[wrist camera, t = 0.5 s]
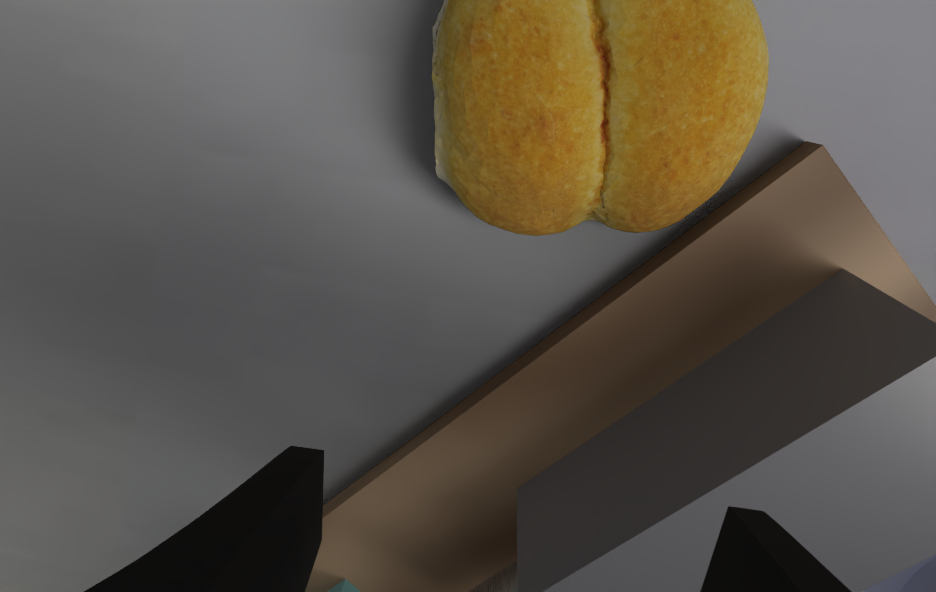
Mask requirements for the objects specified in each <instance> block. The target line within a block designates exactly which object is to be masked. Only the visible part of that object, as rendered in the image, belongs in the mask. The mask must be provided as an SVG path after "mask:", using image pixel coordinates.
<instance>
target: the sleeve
mask: <svg viewBox="0 0 936 592" xmlns="http://www.w3.org/2000/svg"><path fill="white" fill-rule="evenodd" d="M728 506H731V507H738V508H746V509H753V510H760V511H764V512H765V513H767V514H768V515H769V516H770V517H771V518H772V519H774V520H775V521H776V522H777V523H778V524H779V525H780V526H782V527H783V528H784V529H785V530H786V531H787V532H788V533H789V534H790V535H791V536H793V537H794V538H795V539H796V540H797V541H798V542H799V543H800V544H801V545H802V546H803V547H804V548H805V549H806V550H808V551H809V552H810V553H811V554H812V555H813V556H814V557H815V558H816V559H817V560H818V561H819V562H820V563H821V564H823V565H824V566H825V567H826V568H827V569H828V570H829V571H830V572H831V573H832V574H833V575H834V576H835V577H836V578H838V579H839V580H840V581H841V582H842V583H843V584H844V585H845V586H846V587H847V588H848V589H849V590H850V591H852V592H861V591H863V590H865V589H867V588H869V587H871V586H873V585H875V584H877V583H879V582H881V581H883V580H885V579H887V578H889V577H891V576H893V575H895V574H897V573H899V572H901V571H903V570H905V569H907V568H909V567H911V566H913V565H915V564H917V563H919V562H921V561H923V560H925V559H927V558H929V557H931V556H933V555H935V554H936V323H935V322H933V321H931V320H930V319H928V318H926V317H925V316H923V315H921V314H920V313H918V312H916V311H915V310H913V309H911V308H909V307H908V306H906V305H904V304H903V303H901V302H899V301H898V300H896V299H894V298H893V297H891V296H889V295H887V294H886V293H884V292H882V291H881V290H879V289H877V288H876V287H874V286H872V285H871V284H869V283H867V282H865V281H864V280H862V279H860V278H859V277H857V276H855V275H854V274H852V273H850V272H849V271H847V270H845V269H842V270H841V271H839V272H838V273H836V274H835V275H833V276H832V277H830V278H829V279H827V280H826V281H824V282H823V283H821V284H820V285H818V286H817V287H815V288H814V289H812V290H811V291H809V292H808V293H806V294H805V295H803V296H802V297H800V298H799V299H797V300H796V301H794V302H793V303H792V304H790V305H789V306H787V307H786V308H784V309H783V310H781V311H780V312H778V313H777V314H775V315H774V316H772V317H771V318H769V319H768V320H766V321H765V322H763V323H762V324H760V325H759V326H757V327H756V328H754V329H753V330H751V331H750V332H748V333H747V334H745V335H744V336H742V337H741V338H740V339H738V340H737V341H735V342H734V343H732V344H731V345H729V346H728V347H726V348H725V349H723V350H722V351H720V352H719V353H717V354H716V355H714V356H713V357H711V358H710V359H708V360H707V361H705V362H704V363H702V364H701V365H699V366H698V367H696V368H695V369H693V370H692V371H690V372H689V373H687V374H686V375H685V376H683V377H682V378H680V379H679V380H677V381H676V382H674V383H673V384H671V385H670V386H668V387H667V388H665V389H664V390H662V391H661V392H659V393H658V394H656V395H655V396H653V397H652V398H650V399H649V400H647V401H646V402H644V403H643V404H641V405H640V406H638V407H637V408H635V409H634V410H633V411H631V412H630V413H628V414H627V415H625V416H624V417H622V418H621V419H619V420H618V421H616V422H615V423H613V424H612V425H610V426H609V427H607V428H606V429H604V430H603V431H601V432H600V433H598V434H597V435H595V436H594V437H592V438H591V439H589V440H588V441H586V442H585V443H583V444H582V445H580V446H579V447H578V448H576V449H575V450H573V451H572V452H570V453H569V454H567V455H566V456H564V457H563V458H561V459H560V460H558V461H557V462H555V463H554V464H552V465H551V466H549V467H548V468H546V469H545V470H543V471H542V472H540V473H539V474H537V475H536V476H534V477H533V478H531V479H530V480H528V481H527V482H526V483H524V484H523V485H521V486H520V487H518V488H517V583H518V592H700V591H701V588H702V585H703V582H704V579H705V576H706V573H707V570H708V567H709V564H710V561H711V557H712V554H713V551H714V548H715V545H716V542H717V539H718V536H719V533H720V530H721V527H722V524H723V521H724V518H725V514H726V511H727V508H728Z"/></svg>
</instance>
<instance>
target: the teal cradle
mask: <svg viewBox="0 0 936 592" xmlns="http://www.w3.org/2000/svg"><path fill="white" fill-rule="evenodd" d="M327 592H361V591H359V590H358V589H357V588H356V587H355V586H353V585H352V584H351V583H350V582H349V581H348V580H346V579H344V580H343V581H342V582H340V583H339V584H337V585H336V586H334V587H333V588H331V589H330V590H329V591H327Z"/></svg>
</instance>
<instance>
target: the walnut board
mask: <svg viewBox="0 0 936 592" xmlns="http://www.w3.org/2000/svg"><path fill="white" fill-rule="evenodd" d="M842 269H845V270H847V271H849V272H850V273H852V274H854V275H855V276H857V277H859V278H860V279H862V280H864V281H865V282H867V283H869V284H871V285H872V286H874V287H876V288H877V289H879V290H881V291H882V292H884V293H886V294H887V295H889V296H891V297H893V298H894V299H896V300H898V301H899V302H901V303H903V304H904V305H906V306H908V307H909V308H911V309H913V310H915V311H916V312H918V313H920V314H921V315H923V316H925V317H926V318H928V319H930V320H931V321H933V322H935V323H936V306H935V304H934V303H933V301H932V300H931V299H930V297H929V296H928V294H927V293H926V291H925V290H924V289H923V287H922V286H921V284H920V283H919V281H918V280H917V279H916V277H915V276H914V274H913V273H912V271H911V270H910V269H909V267H908V266H907V264H906V263H905V261H904V260H903V259H902V257H901V256H900V254H899V253H898V251H897V250H896V249H895V247H894V246H893V244H892V243H891V241H890V240H889V239H888V237H887V236H886V234H885V233H884V231H883V230H882V229H881V227H880V226H879V224H878V223H877V221H876V220H875V219H874V217H873V216H872V214H871V213H870V212H869V210H868V209H867V207H866V206H865V204H864V203H863V202H862V200H861V199H860V197H859V196H858V194H857V193H856V192H855V190H854V189H853V187H852V186H851V184H850V183H849V182H848V180H847V179H846V177H845V176H844V174H843V173H842V172H841V170H840V169H839V167H838V166H837V164H836V163H835V162H834V160H833V159H832V157H831V156H830V154H829V153H828V152H827V150H826V149H825V147H824V146H823V145H820V144H816V143H812V142H807V141H806V142H805V143H803V144H802V145H801V146H799V147H798V148H797V149H795V150H794V151H793V152H791V153H790V154H789V155H787V156H786V157H785V158H783V159H782V160H781V161H779V162H778V163H777V164H775V165H774V166H773V167H771V168H770V169H769V170H767V171H766V172H765V173H763V174H762V175H761V176H760V177H758V178H757V179H756V180H754V181H753V182H752V183H750V184H749V185H748V186H746V187H745V188H744V189H742V190H741V191H740V192H738V193H737V194H736V195H734V196H733V197H732V198H730V199H729V200H728V201H726V202H725V203H724V204H722V205H721V206H720V207H718V208H717V209H716V210H714V211H713V212H712V213H710V214H709V215H708V216H706V217H705V218H704V219H703V220H701V221H700V222H699V223H697V224H696V225H695V226H693V227H692V228H691V229H689V230H688V231H687V232H685V233H684V234H683V235H681V236H680V237H679V238H677V239H676V240H675V241H673V242H672V243H671V244H669V245H668V246H667V247H665V248H664V249H663V250H661V251H660V252H659V253H657V254H656V255H655V256H653V257H652V258H651V259H649V260H648V261H647V262H646V263H644V264H643V265H642V266H640V267H639V268H638V269H636V270H635V271H634V272H632V273H631V274H630V275H628V276H627V277H626V278H624V279H623V280H622V281H620V282H619V283H618V284H616V285H615V286H614V287H612V288H611V289H610V290H608V291H607V292H606V293H604V294H603V295H602V296H600V297H599V298H598V299H596V300H595V301H594V302H592V303H591V304H590V305H589V306H587V307H586V308H585V309H583V310H582V311H581V312H579V313H578V314H577V315H575V316H574V317H573V318H571V319H570V320H569V321H567V322H566V323H565V324H563V325H562V326H561V327H559V328H558V329H557V330H555V331H554V332H553V333H551V334H550V335H549V336H547V337H546V338H545V339H543V340H542V341H541V342H539V343H538V344H537V345H535V346H534V347H533V348H532V349H530V350H529V351H528V352H526V353H525V354H524V355H522V356H521V357H520V358H518V359H517V360H516V361H514V362H513V363H512V364H510V365H509V366H508V367H506V368H505V369H504V370H502V371H501V372H500V373H498V374H497V375H496V376H494V377H493V378H492V379H490V380H489V381H488V382H486V383H485V384H484V385H482V386H481V387H480V388H478V389H477V390H476V391H475V392H473V393H472V394H471V395H469V396H468V397H467V398H465V399H464V400H463V401H461V402H460V403H459V404H457V405H456V406H455V407H453V408H452V409H451V410H449V411H448V412H447V413H445V414H444V415H443V416H441V417H440V418H439V419H437V420H436V421H435V422H433V423H432V424H431V425H429V426H428V427H427V428H425V429H424V430H423V431H421V432H420V433H419V434H418V435H416V436H415V437H414V438H412V439H411V440H410V441H408V442H407V443H406V444H404V445H403V446H402V447H400V448H399V449H398V450H396V451H395V452H394V453H392V454H391V455H390V456H388V457H387V458H386V459H384V460H383V461H382V462H380V463H379V464H378V465H376V466H375V467H374V468H372V469H371V470H370V471H368V472H367V473H366V474H364V475H363V476H362V477H361V478H359V479H358V480H357V481H355V482H354V483H353V484H351V485H350V486H349V487H347V488H346V489H345V490H343V491H342V492H341V493H339V494H338V495H337V496H335V497H334V498H333V499H331V500H330V501H329V502H327V503H326V504H325V505H323V515H322V541H321V545H320V548H319V551H318V554H317V557H316V560H315V563H314V566H313V569H312V572H311V575H310V578H309V581H308V584H307V587H306V590H305V592H327V591H329V590H330V589H331V588H333V587H334V586H336V585H337V584H339V583H340V582H342V581H343V580H344V579H346V580H348V581H349V582H350V583H351V584H352V585H353V586H355V587H356V588H357V589H358V590H359V591H361V592H467V591H469V590H470V589H472V588H474V587H475V586H477V585H478V584H480V583H482V582H483V581H485V580H486V579H488V578H490V577H491V576H493V575H494V574H496V573H498V572H499V571H501V570H502V569H504V568H506V567H507V566H509V565H510V564H512V563H513V562H515V561H517V488H518V487H520V486H521V485H523V484H524V483H526V482H527V481H528V480H530V479H531V478H533V477H534V476H536V475H537V474H539V473H540V472H542V471H543V470H545V469H546V468H548V467H549V466H551V465H552V464H554V463H555V462H557V461H558V460H560V459H561V458H563V457H564V456H566V455H567V454H569V453H570V452H572V451H573V450H575V449H576V448H578V447H579V446H580V445H582V444H583V443H585V442H586V441H588V440H589V439H591V438H592V437H594V436H595V435H597V434H598V433H600V432H601V431H603V430H604V429H606V428H607V427H609V426H610V425H612V424H613V423H615V422H616V421H618V420H619V419H621V418H622V417H624V416H625V415H627V414H628V413H630V412H631V411H633V410H634V409H635V408H637V407H638V406H640V405H641V404H643V403H644V402H646V401H647V400H649V399H650V398H652V397H653V396H655V395H656V394H658V393H659V392H661V391H662V390H664V389H665V388H667V387H668V386H670V385H671V384H673V383H674V382H676V381H677V380H679V379H680V378H682V377H683V376H685V375H686V374H687V373H689V372H690V371H692V370H693V369H695V368H696V367H698V366H699V365H701V364H702V363H704V362H705V361H707V360H708V359H710V358H711V357H713V356H714V355H716V354H717V353H719V352H720V351H722V350H723V349H725V348H726V347H728V346H729V345H731V344H732V343H734V342H735V341H737V340H738V339H740V338H741V337H742V336H744V335H745V334H747V333H748V332H750V331H751V330H753V329H754V328H756V327H757V326H759V325H760V324H762V323H763V322H765V321H766V320H768V319H769V318H771V317H772V316H774V315H775V314H777V313H778V312H780V311H781V310H783V309H784V308H786V307H787V306H789V305H790V304H792V303H793V302H794V301H796V300H797V299H799V298H800V297H802V296H803V295H805V294H806V293H808V292H809V291H811V290H812V289H814V288H815V287H817V286H818V285H820V284H821V283H823V282H824V281H826V280H827V279H829V278H830V277H832V276H833V275H835V274H836V273H838V272H839V271H841V270H842Z"/></svg>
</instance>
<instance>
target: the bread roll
mask: <svg viewBox="0 0 936 592" xmlns="http://www.w3.org/2000/svg"><path fill="white" fill-rule="evenodd" d="M432 34H433V49H434V51H433V56H432V66H433V69H432V82H433V90H434V96H435V100H434V119H435V128H436V129H435V157H436V167H435V168H436V174H437V177H438V178H440V179H441V180H443V181H444V182H446V183H447V184H448V185H449V186H450V187H451V188H452V189H453V190H454V191H455V193H456V194H457V196H458V197H459V198H460V200H461V201H462V203H463V204H464V205H465V206H466V207H467V208H468V209H469V210H470V211H471V212H472V213H473V214H474V215H475V216H476V217H478V218H480V219H481V220H483V221H485V222H486V223H488V224H490V225H493V226H496V227H499V228H501V229H504V230H507V231H510V232H514V233H517V234H525V235H534V236H539V235H548V234H554V233H560V232H564V231H566V230H568V229H570V228H572V227H574V226H576V225H578V224H579V223H581V222H582V221H586V220H594V221H599V222H602V223H603V224H605V225H607V226H608V227H611V228H614V229H617V230H620V231H626V232H634V233H639V232H647V231H656V230H659V229H662V228H665V227H667V226H669V225H672V224H674V223H676V222H678V221H680V220H682V219H683V218H684V217H685V216H687V215H688V214H689V213H691V212H692V211H694V210H695V209H696V208H698V207H699V206H700V205H702V204H703V203H704V202H706V201H707V200H708V199H709V198H710V197H712V196H713V195H714V194H715V193H716V192H717V191H718V190H719V189H720V188H721V186H722V185H723V184H724V183H725V181H726V180H727V179H728V177H729V176H730V175H731V173H732V172H733V170H734V168H735V167H736V165H737V163H738V162H739V160H740V158H741V157H742V155H743V153H744V151H745V149H746V147H747V145H748V144H749V142H750V140H751V138H752V136H753V134H754V131H755V129H756V126H757V124H758V121H759V118H760V115H761V112H762V109H763V104H764V100H765V95H766V89H767V83H768V66H769V55H768V47H767V42H766V38H765V34H764V30H763V27H762V24H761V21H760V18H759V15H758V13H757V10H756V8H755V6H754V4H753V2H752V0H444V1H443V6H442V8H441V10H440V12H439V14H438V17H437V20H436V22H435V25H434V26H433V27H432Z"/></svg>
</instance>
